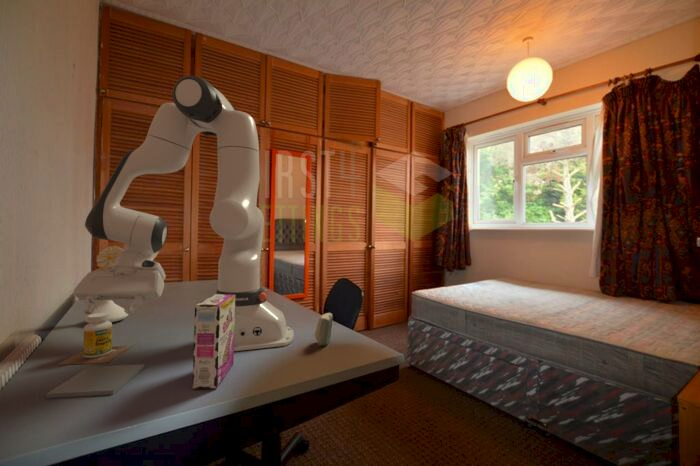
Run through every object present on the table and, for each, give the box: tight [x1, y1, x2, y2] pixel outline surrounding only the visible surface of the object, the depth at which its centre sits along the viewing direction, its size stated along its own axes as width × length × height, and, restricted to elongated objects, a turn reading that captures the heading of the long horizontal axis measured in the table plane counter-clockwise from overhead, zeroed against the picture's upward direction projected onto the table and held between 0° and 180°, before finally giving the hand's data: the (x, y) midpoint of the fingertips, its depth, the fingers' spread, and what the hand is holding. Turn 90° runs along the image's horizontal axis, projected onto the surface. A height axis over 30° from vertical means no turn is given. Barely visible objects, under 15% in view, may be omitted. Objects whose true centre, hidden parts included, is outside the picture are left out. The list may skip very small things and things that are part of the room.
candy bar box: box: [192, 293, 236, 390], centre depth 64 cm, size 11×5×16 cm, turn 5°
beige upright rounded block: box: [314, 312, 334, 348], centre depth 83 cm, size 6×5×8 cm
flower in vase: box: [83, 245, 129, 324], centre depth 99 cm, size 13×11×25 cm
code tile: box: [58, 345, 133, 366], centre depth 74 cm, size 10×10×1 cm
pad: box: [45, 363, 146, 399], centre depth 61 cm, size 11×11×1 cm
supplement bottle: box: [83, 313, 113, 358], centre depth 74 cm, size 5×5×10 cm
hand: (108, 312), depth 77 cm, fingers open, 8 cm apart
